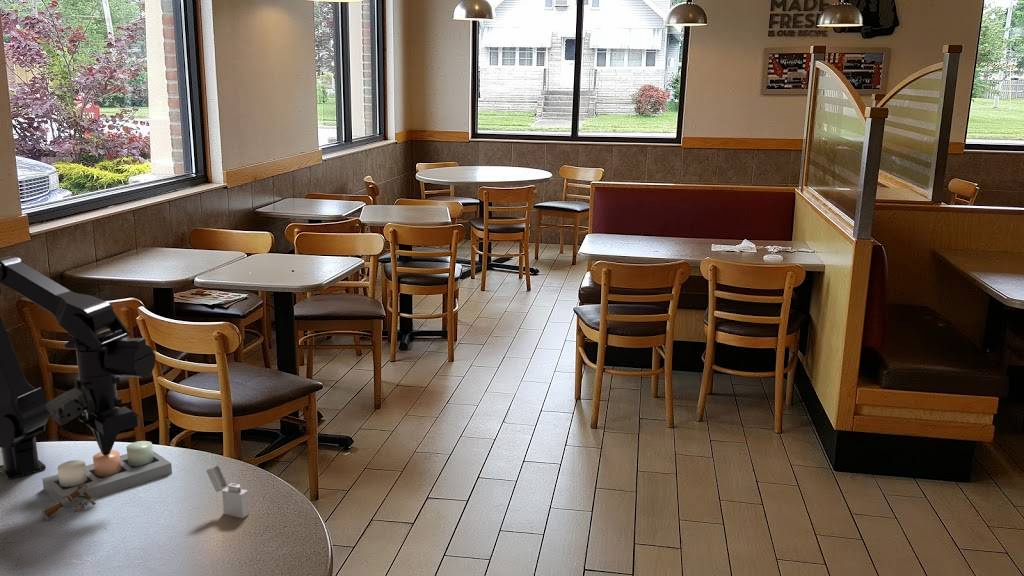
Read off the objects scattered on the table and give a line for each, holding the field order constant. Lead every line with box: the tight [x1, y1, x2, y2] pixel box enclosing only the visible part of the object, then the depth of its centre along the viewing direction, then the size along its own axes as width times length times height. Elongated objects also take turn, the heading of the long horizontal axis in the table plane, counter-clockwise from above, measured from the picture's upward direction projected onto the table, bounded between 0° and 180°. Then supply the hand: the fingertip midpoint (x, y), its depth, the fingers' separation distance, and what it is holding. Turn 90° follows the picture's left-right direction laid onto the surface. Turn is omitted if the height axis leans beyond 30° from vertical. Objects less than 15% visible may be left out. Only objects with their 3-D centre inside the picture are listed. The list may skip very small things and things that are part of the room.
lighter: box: [206, 464, 250, 519], centre depth 147 cm, size 7×2×8 cm, turn 67°
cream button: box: [57, 459, 87, 488], centre depth 154 cm, size 4×4×3 cm
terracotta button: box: [92, 450, 121, 477], centre depth 158 cm, size 4×4×3 cm
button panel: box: [41, 450, 173, 508], centre depth 159 cm, size 10×19×2 cm, turn 136°
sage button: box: [126, 440, 154, 467], centre depth 162 cm, size 4×4×3 cm
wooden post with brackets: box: [39, 483, 97, 522], centre depth 147 cm, size 2×8×4 cm, turn 128°
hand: (106, 454), depth 158 cm, fingers closed
